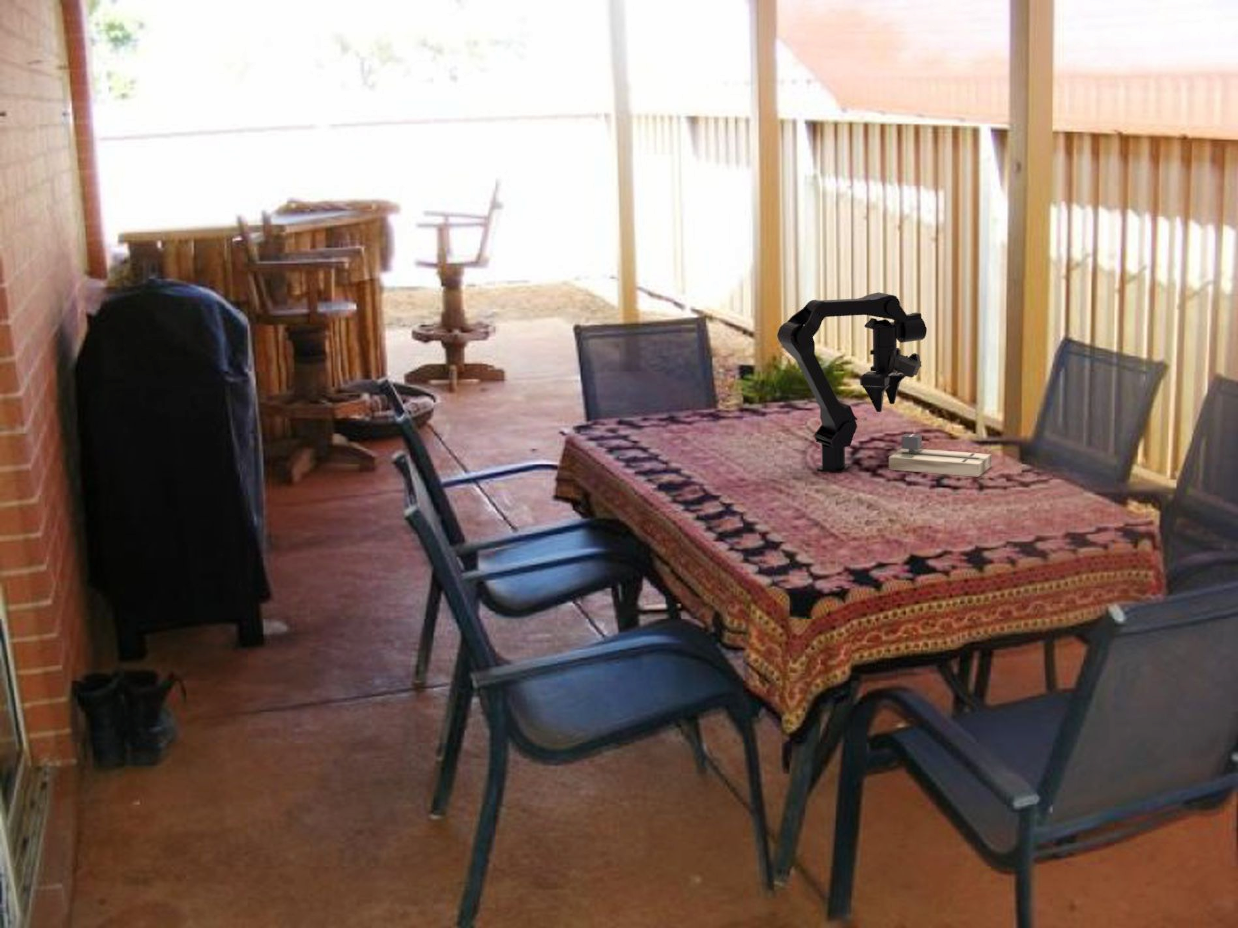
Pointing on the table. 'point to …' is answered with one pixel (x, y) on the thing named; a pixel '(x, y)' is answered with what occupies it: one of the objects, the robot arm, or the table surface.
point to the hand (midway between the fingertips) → (885, 407)
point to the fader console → (940, 462)
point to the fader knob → (911, 442)
